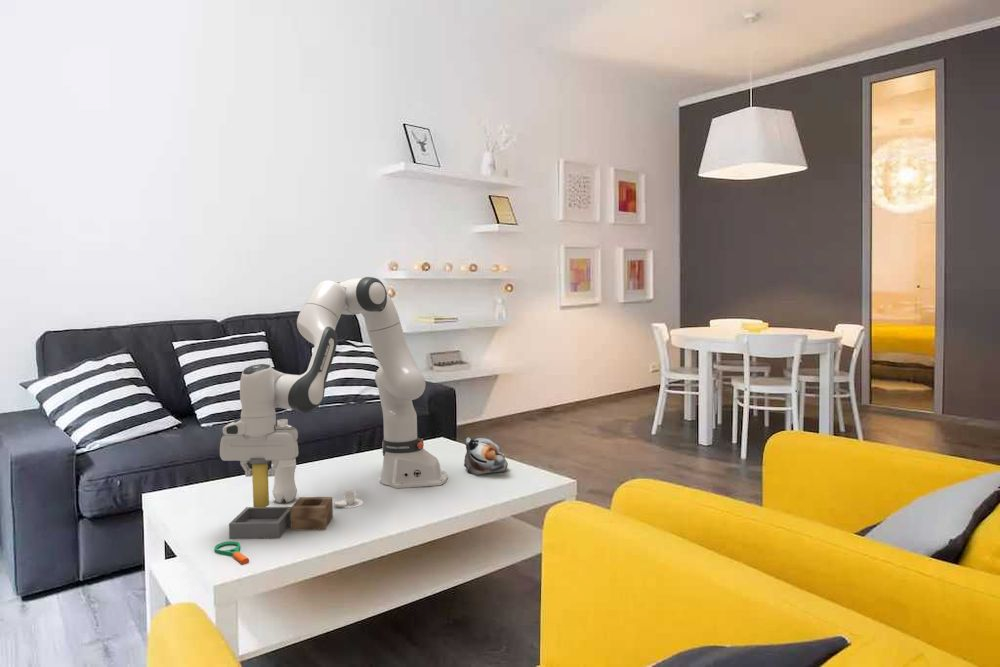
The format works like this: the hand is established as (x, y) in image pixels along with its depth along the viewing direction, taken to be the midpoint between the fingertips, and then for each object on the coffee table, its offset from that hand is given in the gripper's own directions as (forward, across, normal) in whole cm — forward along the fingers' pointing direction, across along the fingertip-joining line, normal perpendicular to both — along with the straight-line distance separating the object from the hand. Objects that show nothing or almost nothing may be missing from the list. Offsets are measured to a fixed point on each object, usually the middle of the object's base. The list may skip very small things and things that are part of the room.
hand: (260, 475), depth 185 cm
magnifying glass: (+15, +2, +17) cm, 23 cm away
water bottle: (+15, +1, -24) cm, 28 cm away
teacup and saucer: (+15, -16, -21) cm, 31 cm away
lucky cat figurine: (+15, -61, -53) cm, 82 cm away
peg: (+8, 0, 0) cm, 8 cm away
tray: (+15, 0, 0) cm, 15 cm away
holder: (+15, -13, -4) cm, 20 cm away
